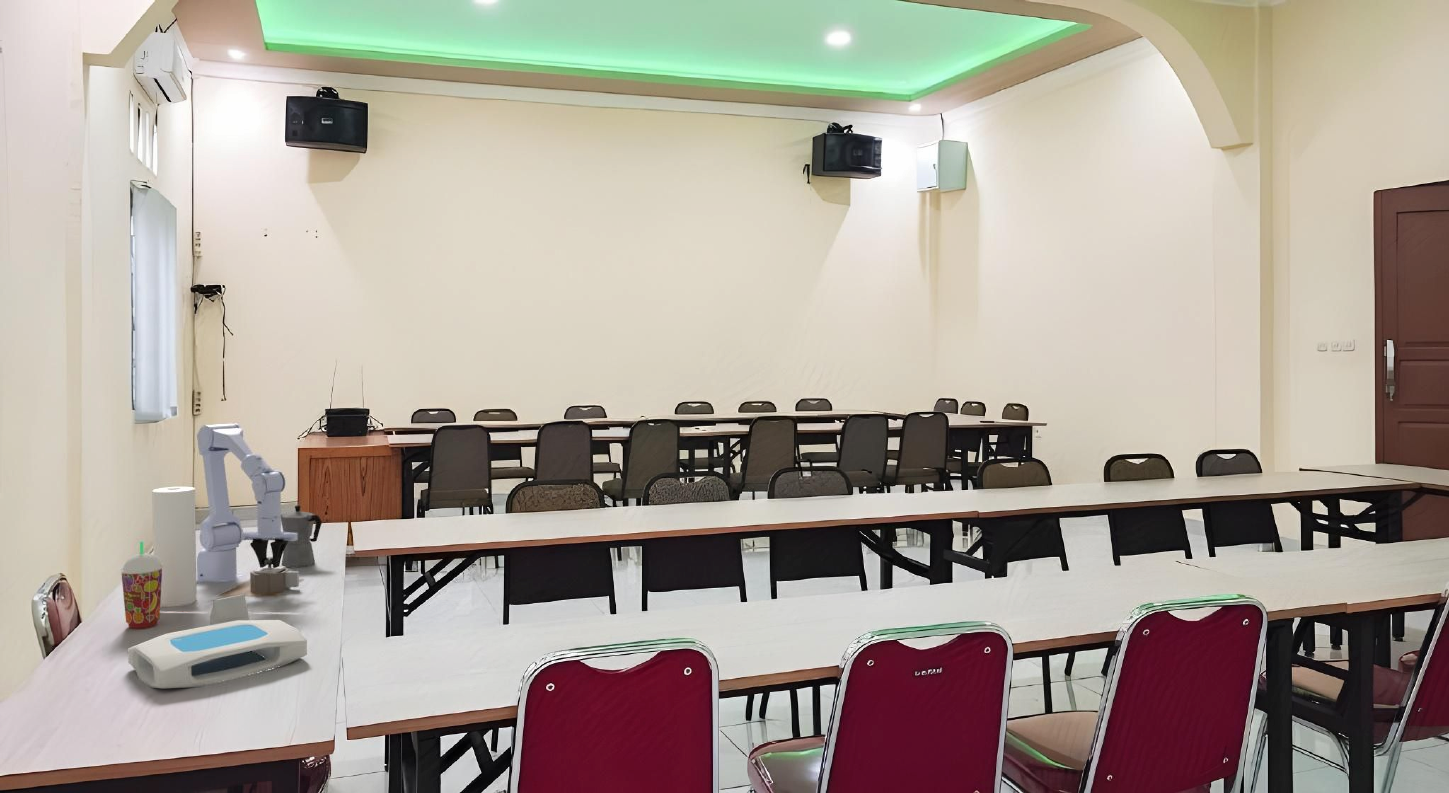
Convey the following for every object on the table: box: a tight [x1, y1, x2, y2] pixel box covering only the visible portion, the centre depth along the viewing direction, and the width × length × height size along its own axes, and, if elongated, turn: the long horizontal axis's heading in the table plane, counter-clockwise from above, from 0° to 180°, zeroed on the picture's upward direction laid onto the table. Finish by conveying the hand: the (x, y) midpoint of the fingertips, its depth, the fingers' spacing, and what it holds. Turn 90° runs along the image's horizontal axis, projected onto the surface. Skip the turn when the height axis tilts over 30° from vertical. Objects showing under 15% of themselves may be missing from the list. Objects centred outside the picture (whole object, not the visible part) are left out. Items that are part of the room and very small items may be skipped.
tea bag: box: [209, 594, 250, 626], centre depth 214 cm, size 4×7×10 cm, turn 143°
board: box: [217, 578, 305, 597], centre depth 259 cm, size 15×18×1 cm
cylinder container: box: [151, 486, 198, 608], centre depth 243 cm, size 9×9×30 cm
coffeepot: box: [280, 504, 323, 568], centre depth 288 cm, size 15×9×18 cm, turn 70°
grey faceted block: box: [249, 565, 300, 594], centre depth 257 cm, size 12×9×6 cm
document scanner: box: [127, 619, 308, 689], centre depth 198 cm, size 21×28×6 cm
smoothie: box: [120, 541, 163, 630], centre depth 225 cm, size 8×8×20 cm
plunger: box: [264, 556, 273, 570], centre depth 257 cm, size 7×7×8 cm
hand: (269, 566), depth 257 cm, fingers closed on plunger, 3 cm apart
